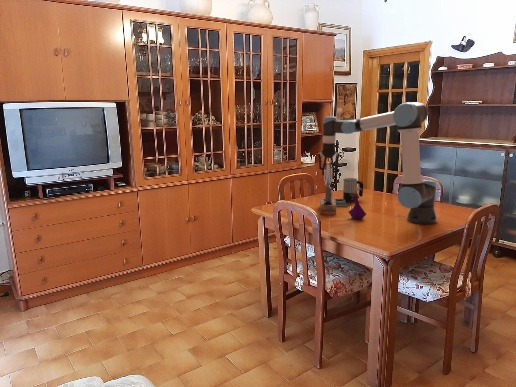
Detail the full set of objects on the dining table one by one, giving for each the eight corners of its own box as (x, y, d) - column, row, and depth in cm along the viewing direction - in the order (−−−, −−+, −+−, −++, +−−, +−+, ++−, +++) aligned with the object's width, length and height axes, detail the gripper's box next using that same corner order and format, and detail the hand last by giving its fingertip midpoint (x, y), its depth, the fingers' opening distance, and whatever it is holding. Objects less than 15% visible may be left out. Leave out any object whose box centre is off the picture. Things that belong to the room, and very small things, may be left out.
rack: (335, 214, 238) (336, 205, 236) (320, 214, 239) (320, 205, 238) (334, 206, 255) (334, 198, 254) (319, 206, 256) (320, 198, 255)
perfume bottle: (354, 220, 225) (355, 189, 221) (348, 217, 232) (349, 186, 228) (366, 219, 227) (367, 188, 223) (359, 216, 234) (360, 186, 230)
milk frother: (348, 203, 264) (349, 180, 261) (333, 198, 278) (334, 177, 275) (365, 200, 271) (366, 178, 267) (349, 195, 284) (350, 175, 281)
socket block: (347, 206, 255) (348, 202, 254) (331, 206, 256) (331, 201, 256) (346, 202, 265) (346, 198, 264) (331, 202, 266) (331, 198, 265)
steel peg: (330, 185, 246) (331, 162, 243) (325, 185, 246) (325, 162, 243) (330, 184, 249) (331, 161, 246) (324, 184, 250) (325, 161, 247)
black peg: (331, 210, 240) (331, 188, 237) (325, 210, 241) (325, 188, 238) (330, 209, 244) (331, 186, 241) (324, 209, 244) (325, 186, 241)
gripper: (342, 142, 245) (341, 179, 250) (315, 142, 247) (314, 179, 252) (343, 143, 237) (342, 182, 243) (315, 143, 240) (314, 181, 245)
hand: (327, 180), depth 247 cm, fingers closed on steel peg, 3 cm apart
